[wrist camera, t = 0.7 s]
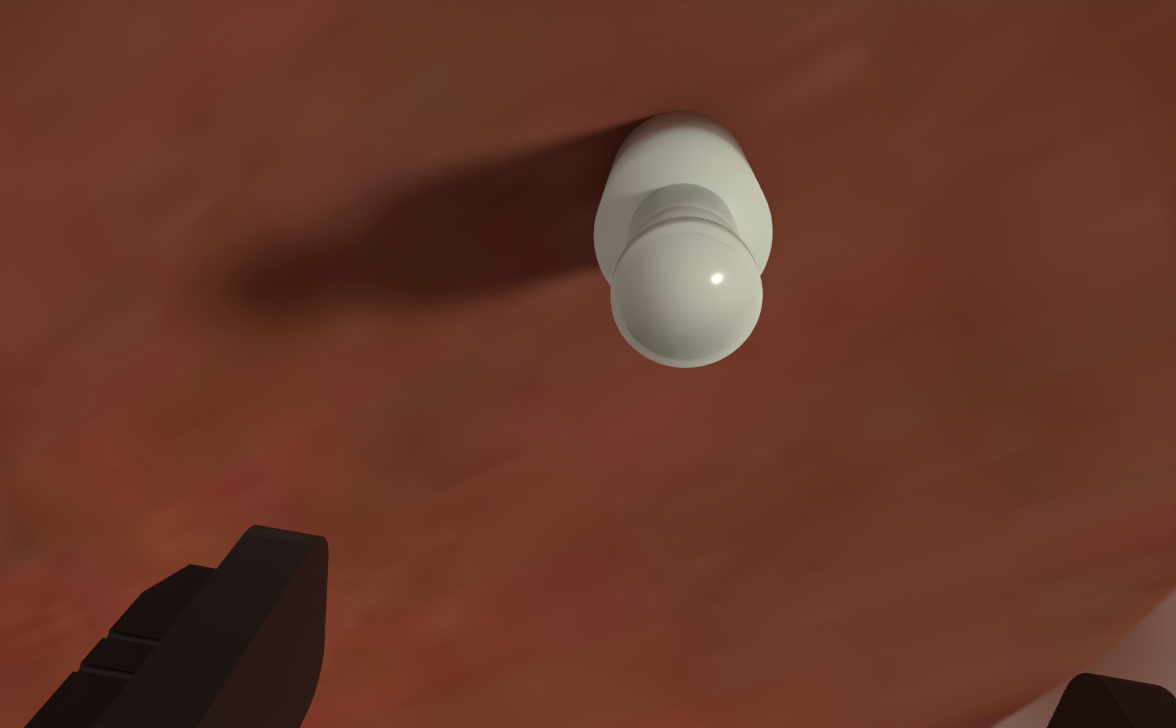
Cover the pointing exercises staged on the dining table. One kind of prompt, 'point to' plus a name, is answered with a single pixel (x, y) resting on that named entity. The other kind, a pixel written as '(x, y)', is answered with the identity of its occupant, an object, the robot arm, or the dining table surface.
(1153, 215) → the dining table surface
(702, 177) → the bottle
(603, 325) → the dining table surface
